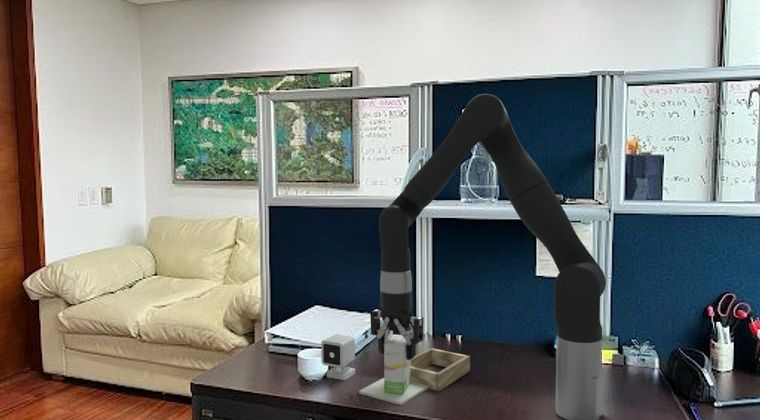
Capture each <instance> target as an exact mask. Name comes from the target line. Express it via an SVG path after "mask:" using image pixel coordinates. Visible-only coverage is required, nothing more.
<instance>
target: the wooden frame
mask: <svg viewBox="0 0 760 420" xmlns="http://www.w3.org/2000/svg"><path fill="white" fill-rule="evenodd" d="M431 365H436V366H439V367H445V368H443V369H441V370H440V371H438V372H436V371H432V370H428V369H425V368H426V367H429V366H431ZM470 371H471V355H468V354H467V355H466V354H463V353H457V352H451V351H448V350H442V349H437V348H433V347H428V349H425V350H423V351H422V352H419V353H418V354H416V355H415V357H414V358H413V359H411V377H410V378H411V380H410V381H412V382H415V383H419V384H423V385H427V386H429V388H428V389H431V390H433V391H438V392H440V391H442V390H443V389H445V388H447V387H448V386H450V384H451V385H452V383H454V382H456V381H457V380H458V379H460V378H461V377H463V376H465V375H466V374H468V373H469V372H470Z"/></svg>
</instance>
